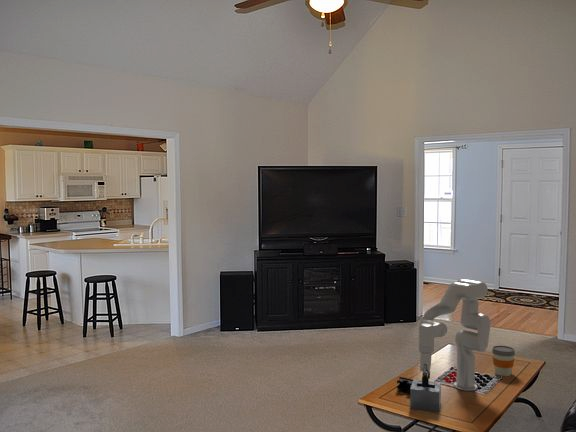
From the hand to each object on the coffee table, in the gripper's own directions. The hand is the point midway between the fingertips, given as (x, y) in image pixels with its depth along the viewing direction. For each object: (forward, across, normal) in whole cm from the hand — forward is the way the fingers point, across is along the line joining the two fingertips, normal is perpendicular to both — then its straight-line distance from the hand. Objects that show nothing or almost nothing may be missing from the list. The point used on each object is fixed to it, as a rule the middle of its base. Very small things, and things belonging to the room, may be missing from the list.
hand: (425, 381), depth 271 cm
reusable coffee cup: (+12, -62, +40) cm, 75 cm away
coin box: (+12, 0, 0) cm, 12 cm away
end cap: (+12, -16, -11) cm, 23 cm away
